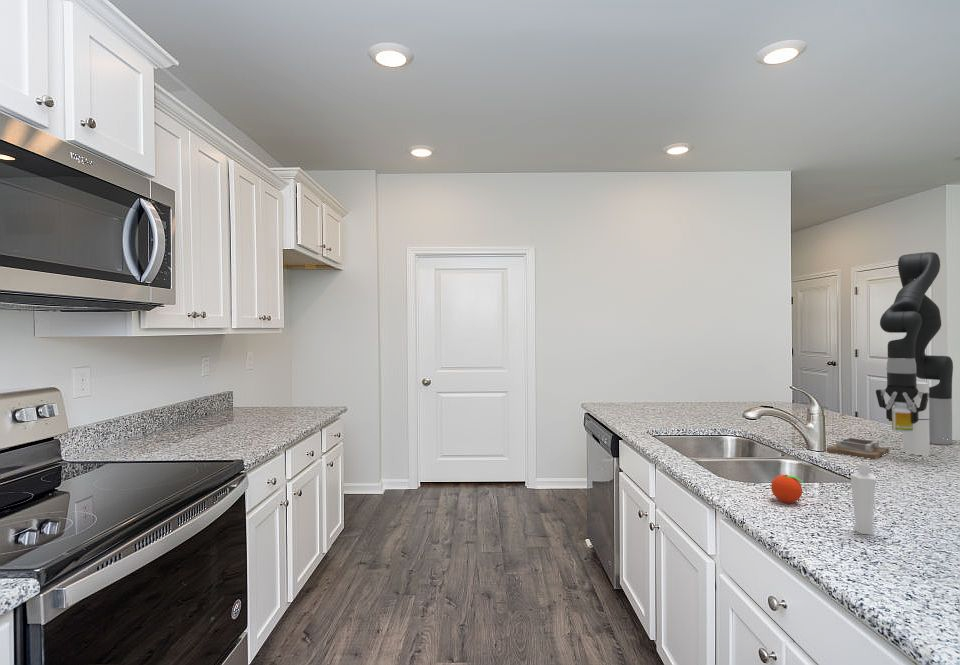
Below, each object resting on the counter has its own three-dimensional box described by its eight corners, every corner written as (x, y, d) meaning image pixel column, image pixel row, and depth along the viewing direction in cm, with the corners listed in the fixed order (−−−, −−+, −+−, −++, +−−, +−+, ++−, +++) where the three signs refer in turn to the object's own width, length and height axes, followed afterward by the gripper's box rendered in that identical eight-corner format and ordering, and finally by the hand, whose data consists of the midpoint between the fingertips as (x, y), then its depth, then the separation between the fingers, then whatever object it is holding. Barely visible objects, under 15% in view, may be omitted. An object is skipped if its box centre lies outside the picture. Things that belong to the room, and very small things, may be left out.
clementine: (807, 501, 130) (807, 474, 130) (807, 509, 125) (806, 480, 125) (772, 495, 135) (772, 469, 135) (770, 503, 129) (769, 476, 129)
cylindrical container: (898, 452, 178) (897, 382, 177) (909, 450, 181) (908, 381, 180) (922, 457, 171) (922, 384, 171) (933, 454, 174) (933, 382, 174)
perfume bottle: (851, 525, 114) (851, 459, 114) (876, 530, 112) (875, 463, 111) (850, 531, 111) (849, 464, 111) (875, 536, 108) (875, 467, 108)
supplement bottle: (917, 432, 164) (917, 403, 164) (900, 432, 164) (900, 403, 164) (903, 428, 170) (903, 400, 169) (887, 429, 170) (887, 400, 170)
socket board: (842, 445, 189) (842, 435, 189) (888, 452, 177) (888, 441, 177) (826, 452, 180) (826, 440, 180) (874, 459, 169) (874, 448, 169)
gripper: (932, 371, 163) (933, 423, 163) (878, 369, 175) (879, 417, 175) (926, 373, 159) (927, 426, 159) (871, 371, 170) (871, 420, 171)
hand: (902, 421), depth 167 cm, fingers closed on supplement bottle, 5 cm apart
